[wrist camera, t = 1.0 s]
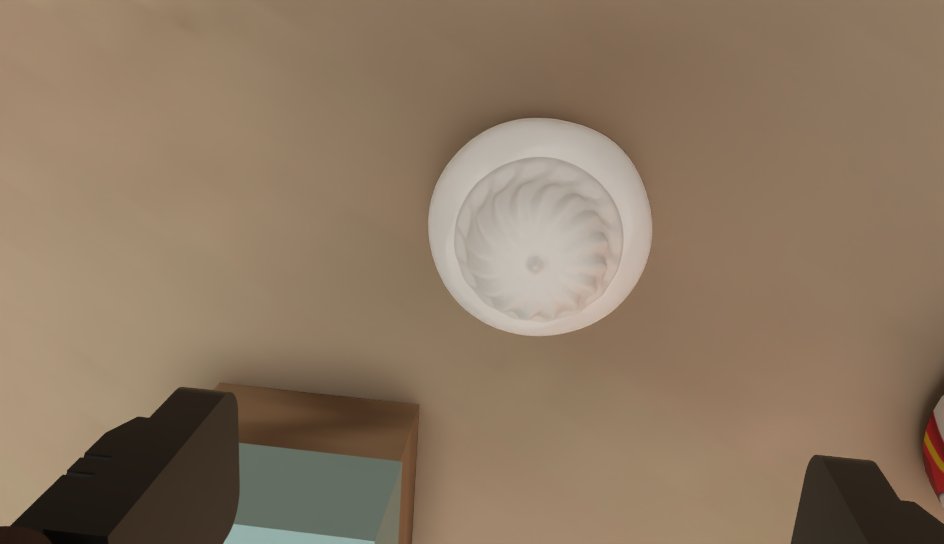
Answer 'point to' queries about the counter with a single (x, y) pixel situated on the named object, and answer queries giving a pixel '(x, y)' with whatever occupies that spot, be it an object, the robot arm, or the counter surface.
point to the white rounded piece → (540, 226)
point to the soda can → (935, 450)
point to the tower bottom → (334, 430)
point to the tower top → (315, 498)
